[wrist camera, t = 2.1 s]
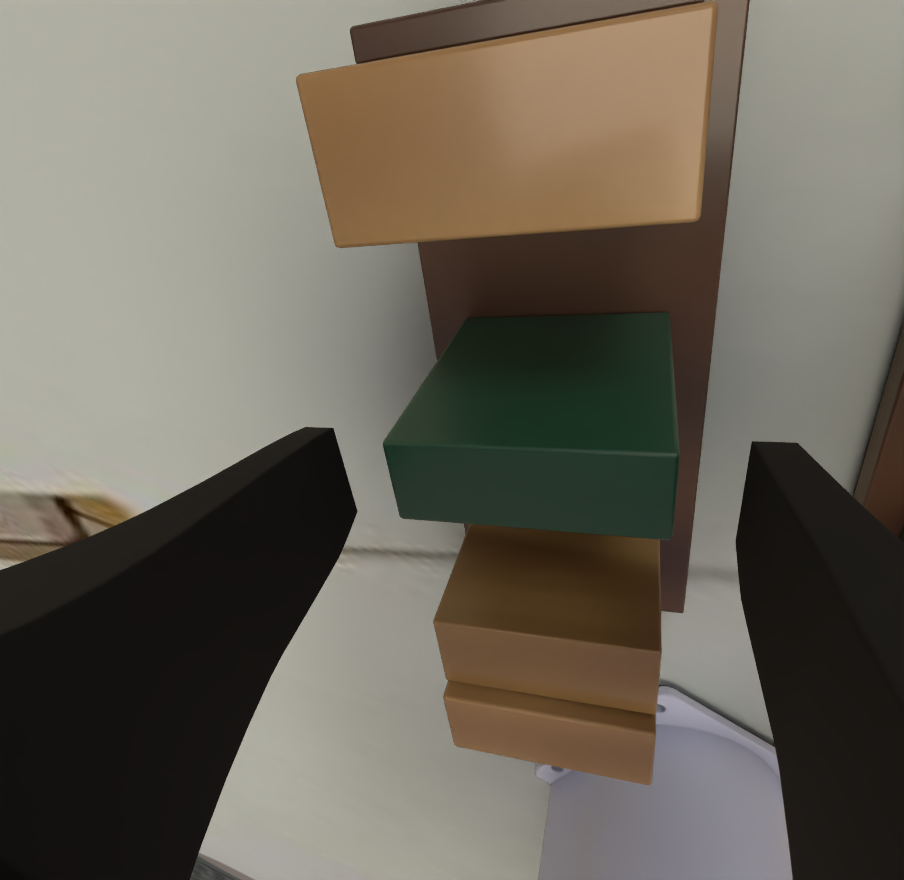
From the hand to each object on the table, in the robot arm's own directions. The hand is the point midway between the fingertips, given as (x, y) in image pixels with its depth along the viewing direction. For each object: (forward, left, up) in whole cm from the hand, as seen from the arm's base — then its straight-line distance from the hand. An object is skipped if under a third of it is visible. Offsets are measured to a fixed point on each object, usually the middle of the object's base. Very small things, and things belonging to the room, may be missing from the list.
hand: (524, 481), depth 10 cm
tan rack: (-1, -1, -7) cm, 7 cm away
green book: (0, 0, -6) cm, 6 cm away
